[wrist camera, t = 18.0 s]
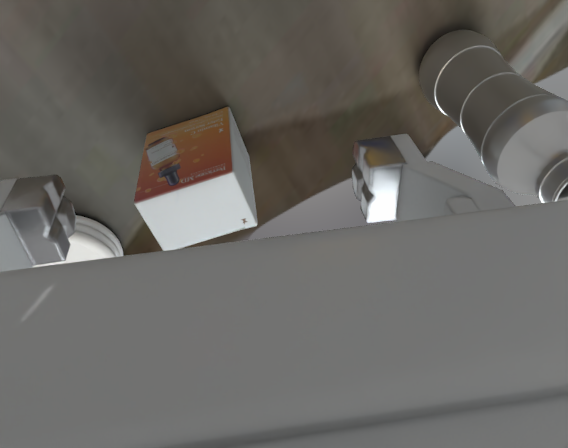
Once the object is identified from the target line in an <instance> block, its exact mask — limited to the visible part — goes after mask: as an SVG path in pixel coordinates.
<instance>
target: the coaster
mask: <svg viewBox="0 0 568 448" xmlns="http://www.w3.org/2000/svg"><path fill="white" fill-rule="evenodd" d="M68 240H69V242H70V244H71V245H70V248H69V251H68V254H67V257H66V260H65V261H61V262H54V263H48V264H41V265H35V266H33V267H41V266H48V265H56V264H64V263H72V262H80V261H88V260H96V259H104V258H112V257H120V256H123V250H122V246H121V244H120V242H119V240H118V238H117V237H116V236H115V235H114V234H113V232H112V231H110V230H109V229H108V228H107V227H105V226H104V225H102V224H101V223H99V222H97V221H95V220H92V219H90V218H86V217H83V216H78V215H76V228H75V232H74V234H73V235H72V236H71V237H69V238H68Z"/></svg>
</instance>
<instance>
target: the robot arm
mask: <svg viewBox="0 0 568 448" xmlns="http://www.w3.org/2000/svg"><path fill="white" fill-rule="evenodd" d="M353 156H354V159H355V161H356V164H355V165H354V166H353V168H352V183H353V189H354V194H355V196H356V199H357V200H359V201H361V211H362V213H363V215H364V217H365V220H366V222H367V223H371V222H381V221H391V220H396V221H397V222H390V223H382V224H373V225H366V226H358V227H350V228H342V229H334V230H327V231H319V232H311V233H302V234H295V235H287V236H279V237H271V238H263V239H255V240H247V241H239V242H231V243H223V244H215V245H207V246H199V247H191V248H183V249H176V250H168V251H160V252H152V253H144V254H136V255H128V256H120V257H112V258H104V259H96V260H88V261H80V262H72V263H64V264H56V265H48V266H41V267H33V266H35V265H41V264H48V263H54V262H61V261H65V260H66V257H67V254H68V251H69V248H70V245H71V244H70V242H69V240H68V238H69V237H71V236H72V235H73V234H74V232H75V228H76V215H75V211H74V207H73V205H72V202H71V201H70V200H69V199H67V198H66V197H64V196H63V194H64V191H65V186H64V183H63V181H62V179H61V177H59V176H58V175H48V176H37V177H27V178H20V179H19V178H15V179H7V180H1V181H0V448H568V200H564V201H556V202H548V203H540V204H532V205H524V206H515V205H514V204H513V202H512V201H511V200H510V199H509V197H508V196H507V195H506V194H505V193H504V191H503V190H500V189H498V188H495V187H493V186H491V185H488V184H486V183H483V182H481V181H479V180H476V179H474V178H471V177H469V176H466V175H464V174H462V173H459V172H457V171H454V170H452V169H449V168H447V167H445V166H442V165H440V164H437V163H435V162H433V161H430V162H427V161H426V160H425V158H424V157H423V155H422V154H421V152H420V151H419V150H418V148H417V147H416V145H415V144H414V142H413V141H412V139H411V138H410V137H409V135H408V134H400V135H394V136H386V137H379V138H372V139H365V140H358V141H354V145H353Z"/></svg>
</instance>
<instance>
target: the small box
mask: <svg viewBox="0 0 568 448" xmlns="http://www.w3.org/2000/svg"><path fill="white" fill-rule="evenodd" d="M134 204H135V206H136V207H137V209H138V211H139V212H140V214H141V216H142V217H143V219H144V220H145V222H146V224H147V225H148V227H149V228H150V230H151V232H152V233H153V235H154V237H155V238H156V240H157V241H158V243H159V245H160V246H161V248H162V249H163V251H168V250H176V249H180V248H183V247H186V246H189V245H193V244H196V243H199V242H202V241H205V240H209V239H212V238H215V237H218V236H222V235H225V234H228V233H231V232H235V231H238V230H242V229H246V228H250V227H254V226H257V214H256V206H255V199H254V192H253V184H252V175H251V167H250V158H249V155H248V152H247V150H246V147H245V145H244V142H243V140H242V137H241V135H240V132H239V130H238V127H237V125H236V122H235V120H234V117H233V115H232V112H231V110H230V108H229V107H225V108H223V109H220V110H217V111H215V112H212V113H209V114H206V115H203V116H200V117H197V118H194V119H191V120H188V121H185V122H182V123H179V124H176V125H172V126H169V127H166V128H163V129H160V130H157V131H153V132H150V133H148V134H147V135H146V141H145V146H144V151H143V156H142V162H141V167H140V172H139V178H138V183H137V188H136V193H135V199H134Z"/></svg>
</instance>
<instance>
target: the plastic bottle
mask: <svg viewBox="0 0 568 448" xmlns="http://www.w3.org/2000/svg"><path fill="white" fill-rule="evenodd" d="M419 82H420V86H421V89H422V91H423V94H424V96H425V98H426V100H427V101H428V102H429V103H430V104H431V105H432V106H434V107H435V108H436V109H437V110H439V111H440V112H442V113H444V114H445V115H447V116H448V117H450V118H451V119H452V120H453V121H454V122H455V123H456V124H457V125H458V126H459V127H461V129H462V130H463V132H464V133H465V134H466V136H467V137H468V139H469V140H470V141H471V143H472V144H473V146H474V147H475V149H476V151H477V153H478V155H479V157H480V159H481V161H482V163H483V165H484V167H485V169H486V171H487V172H488V174H489V176H490V177H491V179H492V180H493V181H494V182H495V183H496V184H498V185H499V186H501V187H503V188H505V189H506V190H508V191H510V192H513V193H516V194H526V195H537V197H538V199H539V200H540V201H541V202H542V203H548V202H556V201H564V200H568V101H567V100H565V99H563V98H561V97H559V96H556V95H554V94H552V93H550V92H548V91H546V90H544V89H542V88H540V87H538V86H536V85H534V84H533V83H531V82H530V81H528V80H527V79H525V78H523V77H522V76H521V75H519V74H518V73H516V72H515V70H514V69H513V68H512V67H511V66H510V65H509V64H508V63H507V62H506V61H505V60H504V59H503V57H502V55H501V53H500V52H499V50H498V49H497V47H496V46H495V45H494V44H493V42H492V41H491V40H490V39H489V38H488V37H486V36H485V35H482V34H480V33H477V32H474V31H471V30H465V29H464V30H456V31H452V32H449V33H447V34H445V35H443V36H442V37H440V38H439V39H438V40H436V41H435V42H434V43H433V44H432V45H431V46H430V48H429V49H428V50H427V52H426V53H425V55H424V57H423V59H422V62H421V65H420V69H419Z"/></svg>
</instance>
